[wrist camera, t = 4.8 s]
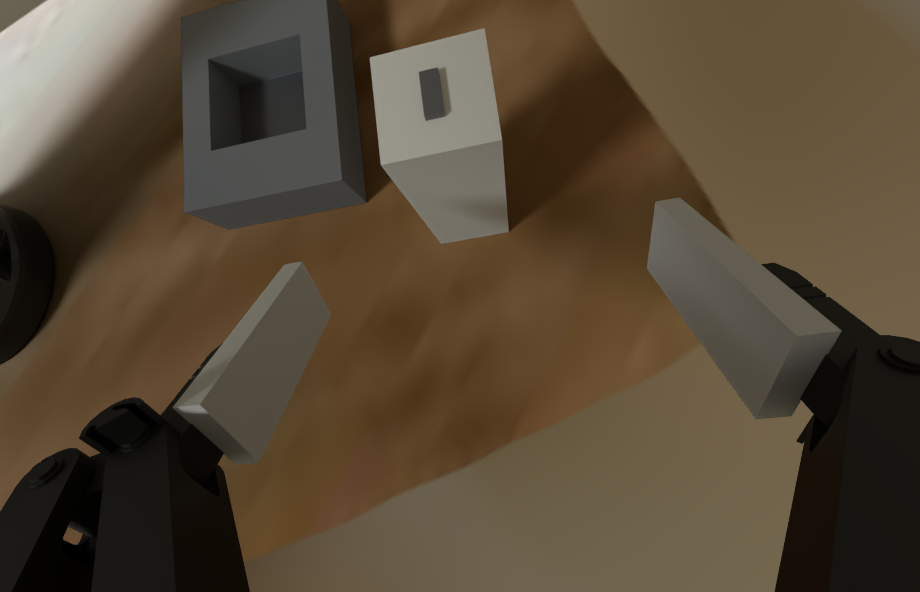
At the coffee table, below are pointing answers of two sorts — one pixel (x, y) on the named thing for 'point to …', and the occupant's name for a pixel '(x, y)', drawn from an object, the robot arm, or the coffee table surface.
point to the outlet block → (269, 112)
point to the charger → (443, 134)
